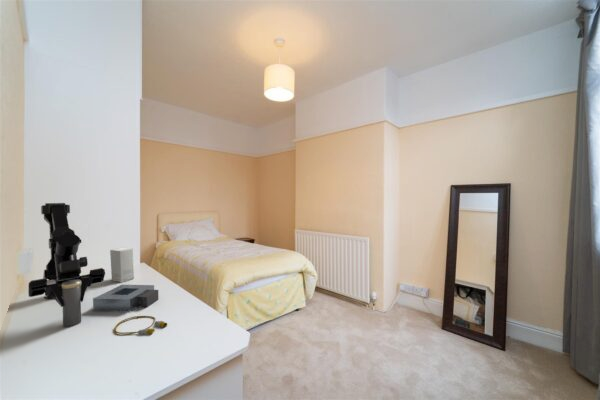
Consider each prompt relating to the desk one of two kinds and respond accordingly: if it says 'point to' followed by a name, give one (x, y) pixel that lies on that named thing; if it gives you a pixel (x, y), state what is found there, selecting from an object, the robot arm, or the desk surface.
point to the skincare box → (122, 264)
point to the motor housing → (126, 298)
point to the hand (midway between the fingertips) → (72, 303)
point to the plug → (71, 302)
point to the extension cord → (143, 331)
